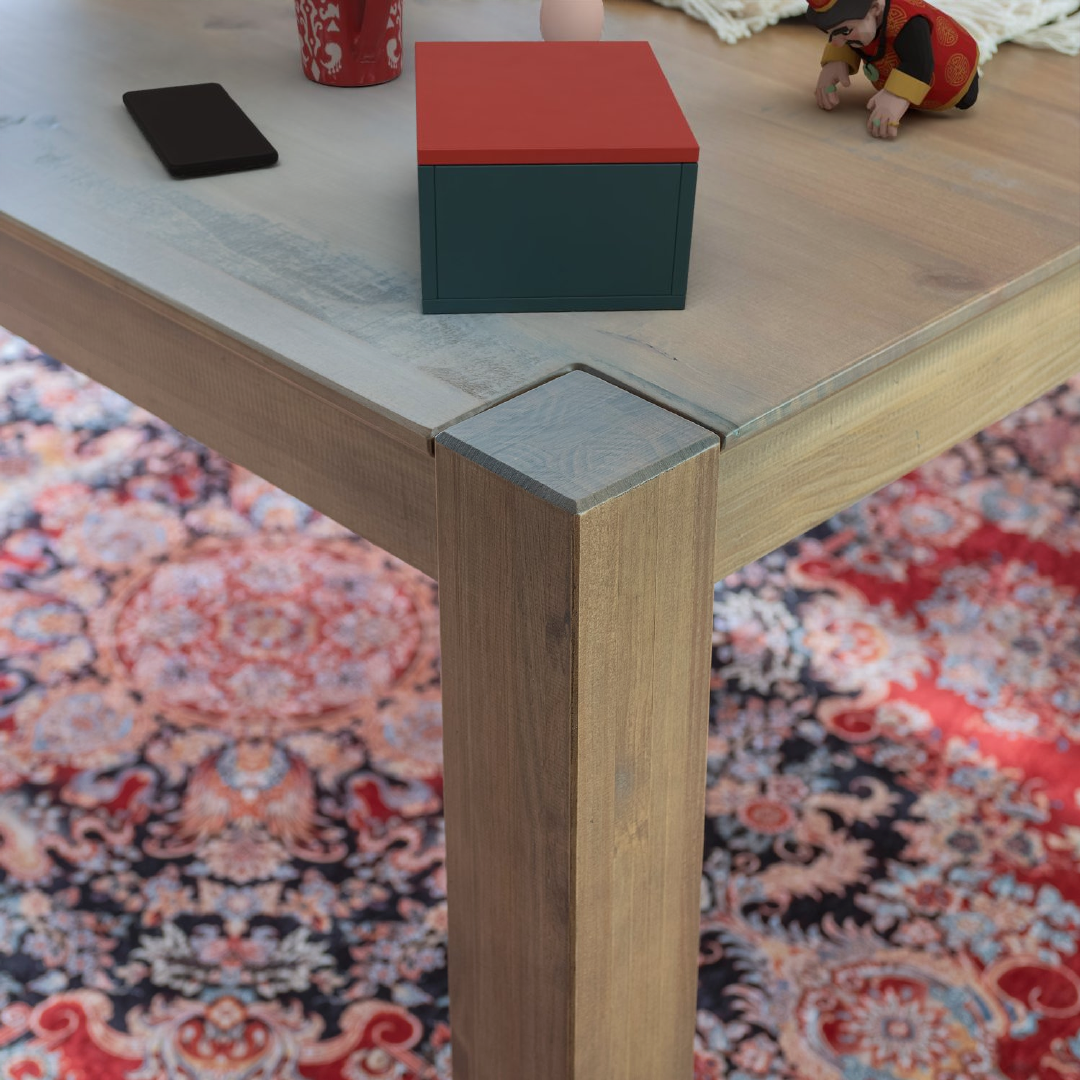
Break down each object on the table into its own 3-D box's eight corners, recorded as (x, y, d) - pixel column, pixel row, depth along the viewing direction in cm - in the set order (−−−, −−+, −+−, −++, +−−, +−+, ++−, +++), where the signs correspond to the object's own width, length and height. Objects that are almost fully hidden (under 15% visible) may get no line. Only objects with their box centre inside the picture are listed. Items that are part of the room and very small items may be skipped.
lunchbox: (419, 189, 83) (415, 59, 79) (640, 187, 84) (649, 58, 80) (422, 314, 70) (417, 166, 65) (685, 309, 71) (698, 163, 66)
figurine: (860, 144, 102) (722, 67, 93) (920, 20, 100) (785, -72, 91) (952, 176, 95) (813, 97, 86) (1020, 43, 93) (884, -54, 83)
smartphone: (219, 81, 96) (281, 152, 85) (220, 92, 97) (282, 166, 86) (119, 91, 94) (169, 167, 83) (121, 103, 94) (171, 180, 83)
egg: (553, 73, 102) (555, -21, 98) (529, 54, 106) (530, -37, 102) (612, 66, 104) (617, -26, 100) (586, 48, 107) (590, -42, 103)
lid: (415, 55, 79) (414, 41, 79) (647, 54, 80) (648, 40, 80) (417, 165, 65) (416, 149, 65) (698, 162, 66) (700, 146, 66)
